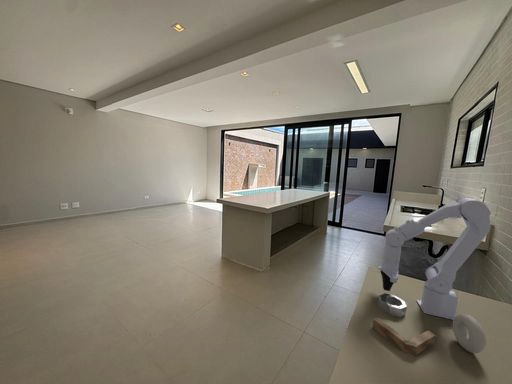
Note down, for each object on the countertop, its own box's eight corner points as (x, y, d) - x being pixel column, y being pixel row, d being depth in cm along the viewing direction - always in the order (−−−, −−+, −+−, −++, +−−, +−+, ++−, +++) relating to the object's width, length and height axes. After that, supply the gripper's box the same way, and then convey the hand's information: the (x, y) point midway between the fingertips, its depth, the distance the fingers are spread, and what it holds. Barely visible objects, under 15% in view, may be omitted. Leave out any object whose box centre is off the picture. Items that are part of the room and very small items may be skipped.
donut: (485, 363, 59) (493, 331, 58) (471, 360, 60) (478, 329, 59) (459, 335, 69) (465, 307, 68) (447, 333, 70) (452, 305, 68)
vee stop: (431, 340, 67) (433, 331, 66) (445, 365, 58) (447, 355, 58) (371, 324, 72) (372, 316, 72) (376, 345, 64) (378, 336, 64)
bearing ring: (400, 305, 83) (402, 297, 82) (407, 319, 75) (409, 310, 75) (377, 299, 86) (378, 291, 85) (381, 313, 78) (382, 304, 77)
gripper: (376, 250, 95) (372, 278, 97) (384, 264, 81) (379, 297, 83) (394, 253, 92) (390, 282, 94) (405, 268, 79) (400, 302, 81)
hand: (386, 289), depth 89 cm, fingers closed
